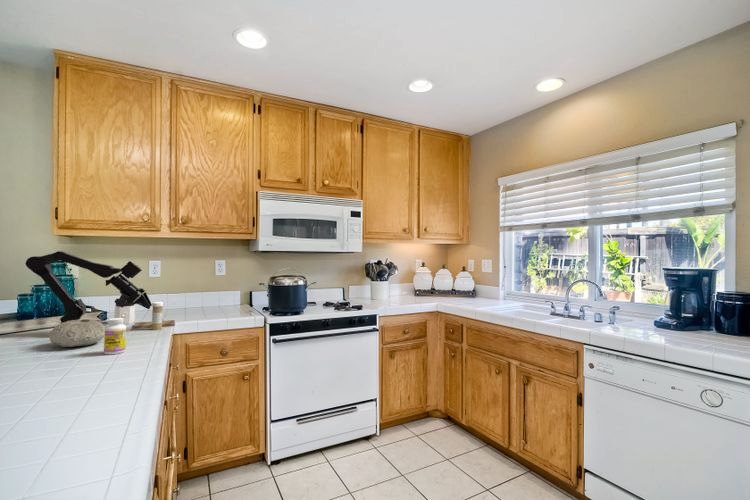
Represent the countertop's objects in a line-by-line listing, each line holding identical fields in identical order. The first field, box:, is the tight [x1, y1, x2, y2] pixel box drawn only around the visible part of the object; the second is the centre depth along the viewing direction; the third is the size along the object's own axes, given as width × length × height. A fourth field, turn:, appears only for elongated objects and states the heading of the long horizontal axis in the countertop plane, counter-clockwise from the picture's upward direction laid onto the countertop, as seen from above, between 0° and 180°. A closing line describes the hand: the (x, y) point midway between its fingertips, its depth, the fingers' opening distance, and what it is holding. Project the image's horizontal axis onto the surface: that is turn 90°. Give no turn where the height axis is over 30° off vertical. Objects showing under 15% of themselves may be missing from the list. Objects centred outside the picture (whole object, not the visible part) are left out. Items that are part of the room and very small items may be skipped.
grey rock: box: [48, 318, 106, 348], centre depth 145 cm, size 18×18×10 cm
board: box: [132, 319, 176, 330], centre depth 186 cm, size 18×11×1 cm, turn 121°
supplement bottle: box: [103, 318, 127, 356], centre depth 135 cm, size 7×7×13 cm
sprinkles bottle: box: [151, 301, 164, 331], centre depth 177 cm, size 5×5×14 cm
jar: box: [114, 301, 136, 325], centre depth 190 cm, size 9×8×12 cm
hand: (150, 307), depth 176 cm, fingers open, 9 cm apart
